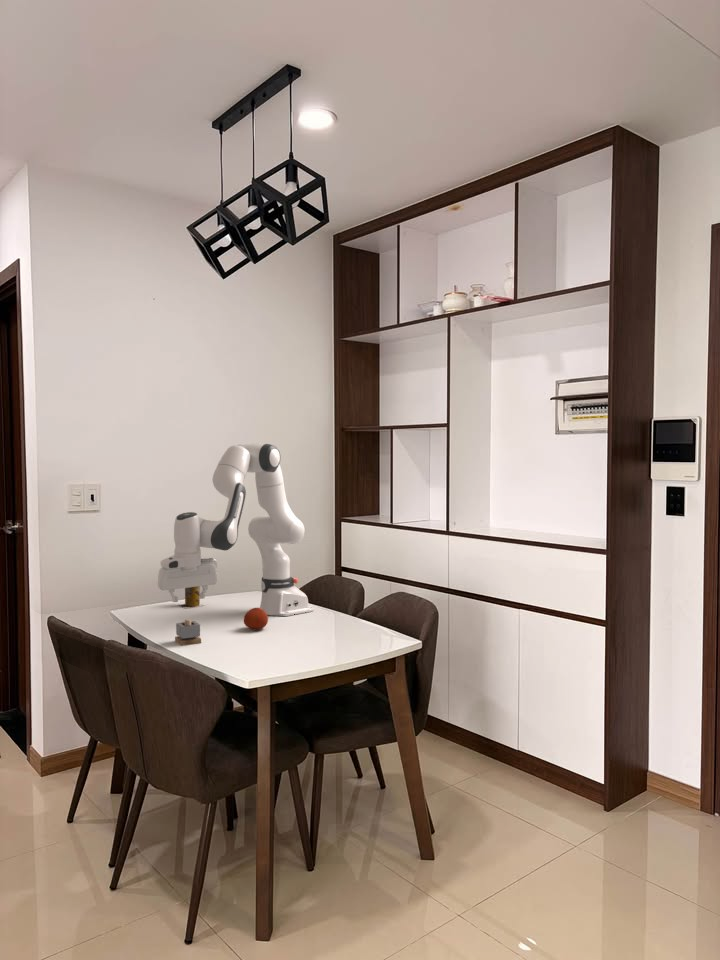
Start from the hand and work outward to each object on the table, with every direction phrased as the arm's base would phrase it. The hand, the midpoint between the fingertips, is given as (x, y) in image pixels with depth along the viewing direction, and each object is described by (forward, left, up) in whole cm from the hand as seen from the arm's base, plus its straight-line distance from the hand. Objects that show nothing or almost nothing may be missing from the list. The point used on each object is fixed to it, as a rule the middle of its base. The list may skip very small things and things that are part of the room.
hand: (188, 600), depth 254 cm
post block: (0, 0, -15) cm, 15 cm away
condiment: (-18, -55, -15) cm, 60 cm away
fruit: (-27, -5, -15) cm, 31 cm away
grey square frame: (0, 0, -12) cm, 12 cm away
